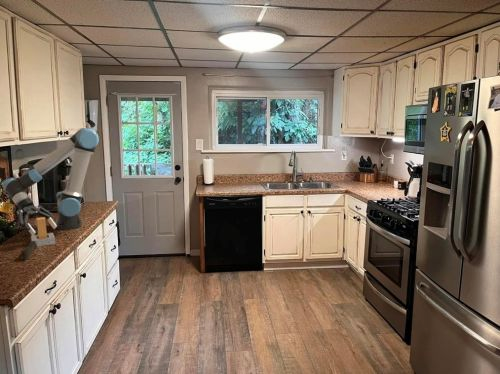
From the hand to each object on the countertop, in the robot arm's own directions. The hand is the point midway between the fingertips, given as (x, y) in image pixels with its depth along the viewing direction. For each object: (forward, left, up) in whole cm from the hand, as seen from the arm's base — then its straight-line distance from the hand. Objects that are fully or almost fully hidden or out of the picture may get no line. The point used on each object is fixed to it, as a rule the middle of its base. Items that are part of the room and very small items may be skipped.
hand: (45, 230), depth 208 cm
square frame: (+1, -2, -7) cm, 8 cm away
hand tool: (+9, +15, -8) cm, 19 cm away
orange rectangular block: (+1, -2, -7) cm, 8 cm away
